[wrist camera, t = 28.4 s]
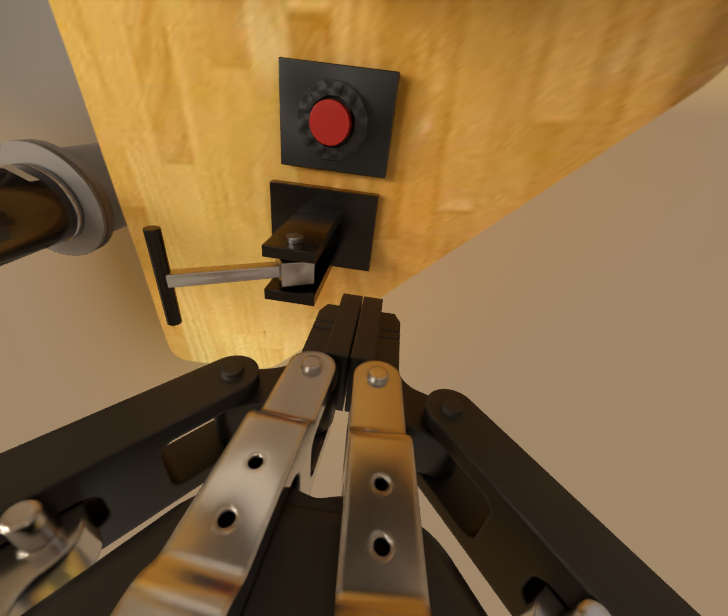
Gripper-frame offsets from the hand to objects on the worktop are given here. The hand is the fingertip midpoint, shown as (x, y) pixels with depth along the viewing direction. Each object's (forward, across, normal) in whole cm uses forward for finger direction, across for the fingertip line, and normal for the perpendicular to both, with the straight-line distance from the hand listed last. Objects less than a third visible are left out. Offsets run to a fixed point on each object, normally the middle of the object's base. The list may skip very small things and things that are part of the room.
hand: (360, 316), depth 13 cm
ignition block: (+27, +6, -5) cm, 28 cm away
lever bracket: (+27, +7, +6) cm, 29 cm away
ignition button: (+24, +6, -5) cm, 25 cm away
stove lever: (+14, +12, +6) cm, 19 cm away
